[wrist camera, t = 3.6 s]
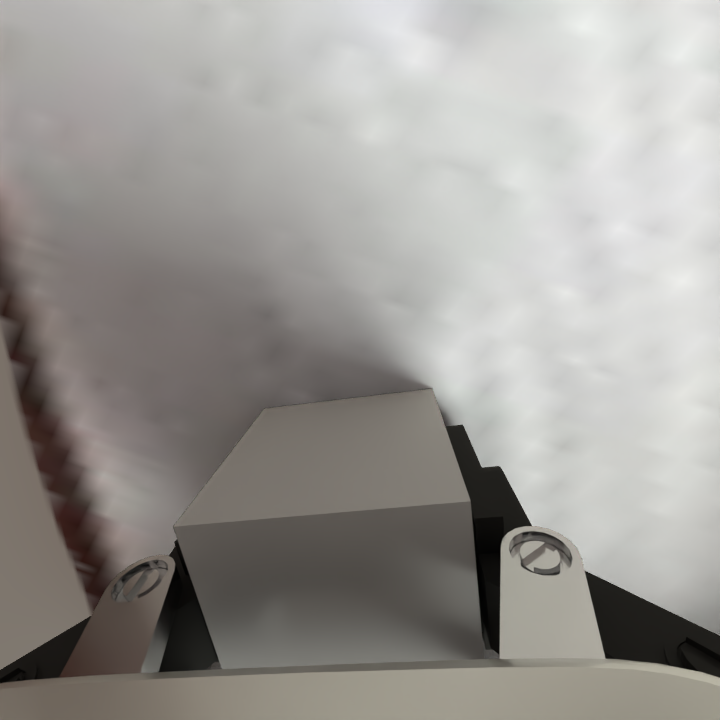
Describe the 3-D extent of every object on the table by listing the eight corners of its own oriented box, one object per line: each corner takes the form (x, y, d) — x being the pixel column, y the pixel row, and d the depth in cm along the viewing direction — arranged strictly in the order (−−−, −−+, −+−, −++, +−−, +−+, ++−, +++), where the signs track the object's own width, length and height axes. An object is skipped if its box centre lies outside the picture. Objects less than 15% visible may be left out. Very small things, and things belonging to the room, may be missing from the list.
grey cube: (264, 408, 11) (172, 526, 6) (432, 388, 11) (470, 500, 6) (297, 545, 12) (242, 727, 8) (447, 533, 12) (489, 721, 7)
